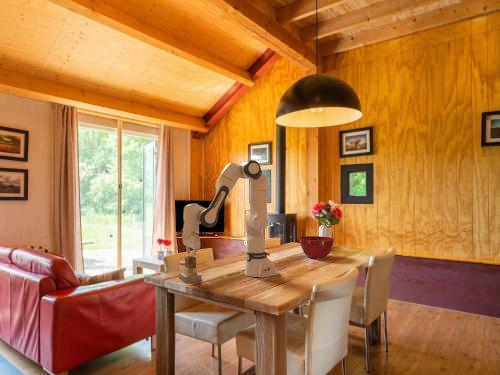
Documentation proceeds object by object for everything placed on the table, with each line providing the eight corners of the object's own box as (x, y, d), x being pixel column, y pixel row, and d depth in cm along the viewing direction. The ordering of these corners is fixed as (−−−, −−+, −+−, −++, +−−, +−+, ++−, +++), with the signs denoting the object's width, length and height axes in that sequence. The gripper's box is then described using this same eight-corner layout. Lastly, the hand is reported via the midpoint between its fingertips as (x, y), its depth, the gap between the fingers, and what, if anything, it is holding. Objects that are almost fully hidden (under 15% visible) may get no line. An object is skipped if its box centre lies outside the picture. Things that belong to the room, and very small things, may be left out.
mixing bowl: (292, 254, 270) (292, 236, 270) (322, 253, 279) (322, 235, 279) (308, 261, 243) (308, 241, 243) (341, 259, 252) (341, 239, 252)
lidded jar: (179, 276, 194) (179, 261, 195) (178, 272, 205) (178, 257, 205) (197, 275, 197) (197, 260, 197) (195, 271, 208) (195, 257, 208)
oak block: (193, 272, 193) (193, 265, 193) (197, 274, 188) (197, 267, 188) (183, 273, 190) (183, 266, 190) (187, 275, 185) (187, 268, 185)
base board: (195, 276, 196) (195, 271, 196) (201, 280, 187) (201, 275, 187) (179, 278, 191) (179, 273, 191) (184, 282, 182) (184, 277, 182)
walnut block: (192, 266, 192) (193, 255, 193) (196, 267, 188) (196, 257, 188) (184, 266, 190) (185, 256, 190) (187, 268, 186) (187, 258, 186)
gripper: (203, 232, 182) (203, 257, 182) (190, 229, 200) (190, 251, 200) (192, 233, 179) (192, 258, 179) (180, 229, 197) (180, 252, 196)
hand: (191, 254), depth 189 cm, fingers open, 8 cm apart
